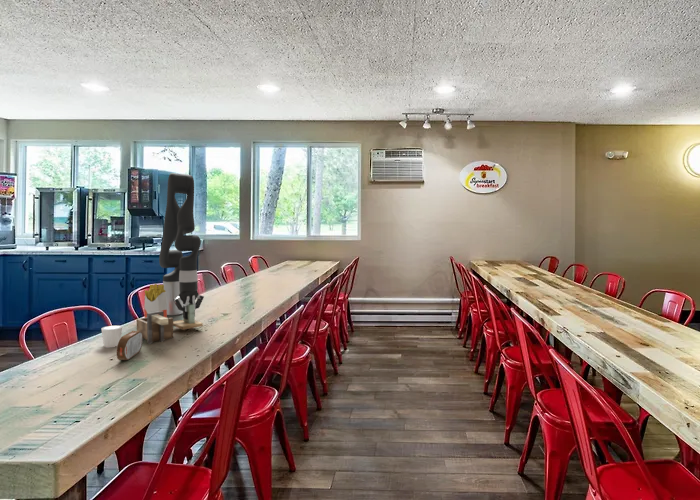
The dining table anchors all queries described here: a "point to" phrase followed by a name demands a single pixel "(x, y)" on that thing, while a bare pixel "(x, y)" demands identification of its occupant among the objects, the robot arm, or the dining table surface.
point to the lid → (190, 322)
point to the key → (160, 319)
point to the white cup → (111, 335)
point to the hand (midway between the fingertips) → (189, 318)
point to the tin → (129, 345)
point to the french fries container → (155, 300)
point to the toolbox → (155, 328)
